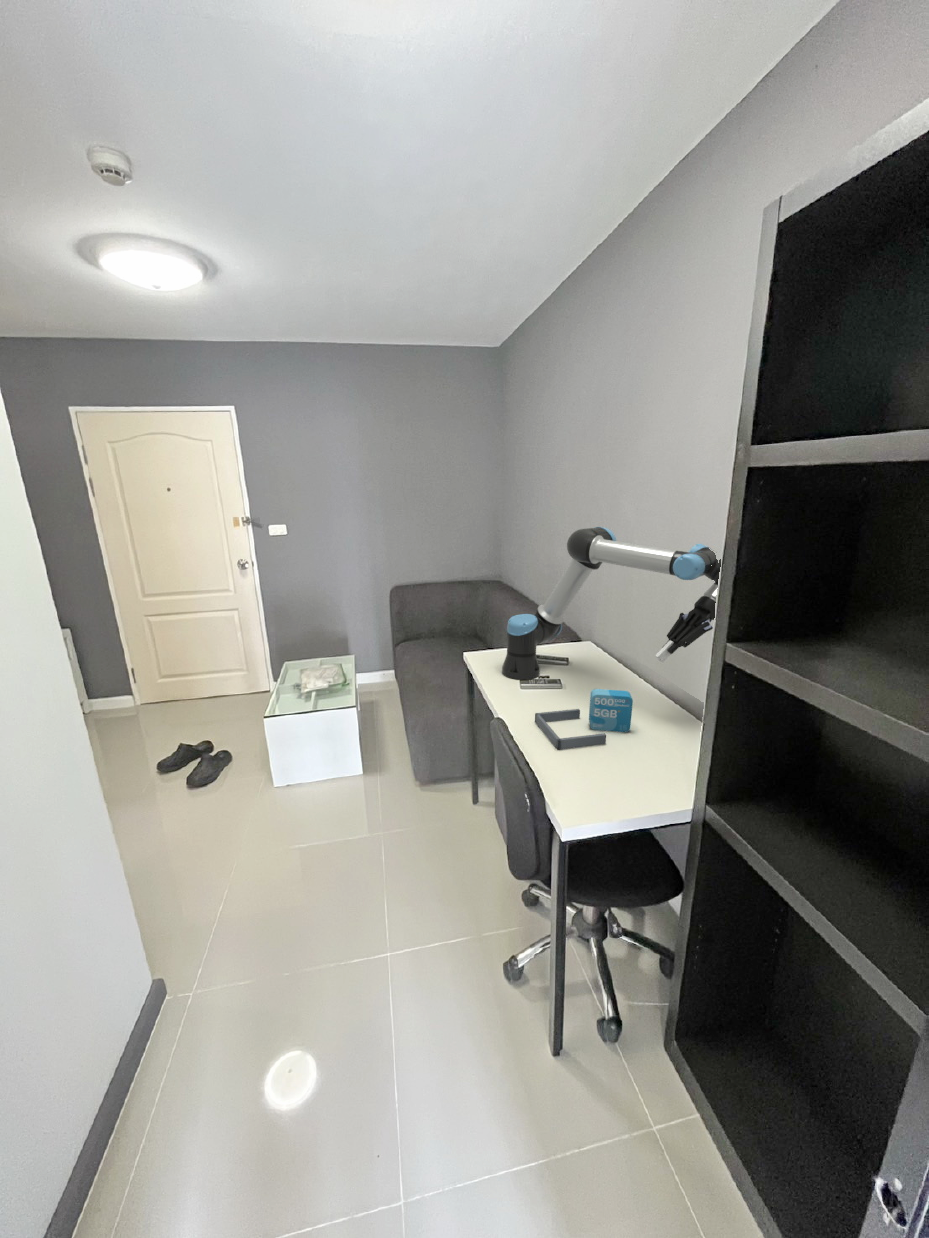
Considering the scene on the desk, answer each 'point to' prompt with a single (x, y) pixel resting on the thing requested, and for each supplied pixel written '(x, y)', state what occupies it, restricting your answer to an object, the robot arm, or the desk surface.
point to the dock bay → (571, 741)
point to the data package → (610, 710)
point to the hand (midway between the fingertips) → (659, 658)
